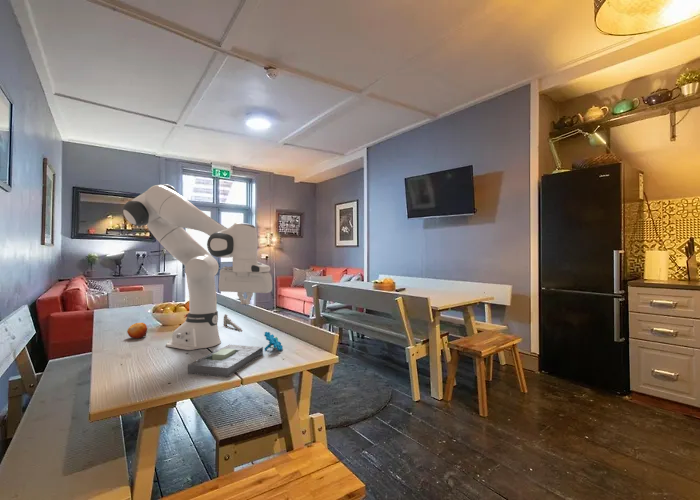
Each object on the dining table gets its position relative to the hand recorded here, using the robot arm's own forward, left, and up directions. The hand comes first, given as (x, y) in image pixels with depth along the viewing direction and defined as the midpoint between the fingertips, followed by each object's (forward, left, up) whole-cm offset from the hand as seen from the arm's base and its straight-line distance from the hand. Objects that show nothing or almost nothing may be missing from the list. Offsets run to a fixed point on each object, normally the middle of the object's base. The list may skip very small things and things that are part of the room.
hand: (245, 304), depth 123 cm
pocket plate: (-6, -1, -22) cm, 22 cm away
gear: (+3, +18, -22) cm, 28 cm away
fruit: (-69, +21, -22) cm, 75 cm away
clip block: (-5, -2, -19) cm, 20 cm away
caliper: (-36, +48, -22) cm, 64 cm away
